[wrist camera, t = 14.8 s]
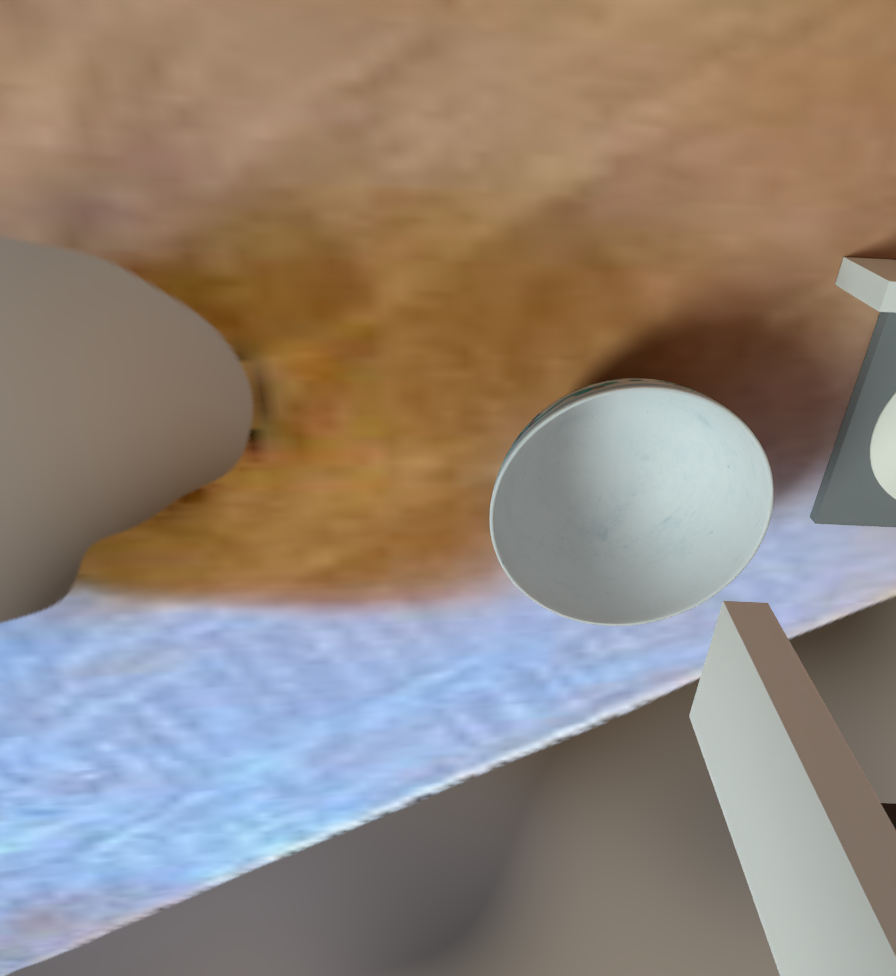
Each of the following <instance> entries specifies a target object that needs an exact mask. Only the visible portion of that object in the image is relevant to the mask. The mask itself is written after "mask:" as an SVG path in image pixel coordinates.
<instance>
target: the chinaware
mask: <svg viewBox="0 0 896 976" xmlns="http://www.w3.org/2000/svg"><path fill="white" fill-rule="evenodd" d="M773 501H774V486H773V477H772V472H771V468H770V464H769V461H768V458H767V456H766V453H765V451H764V449H763V447H762V446H761V444H760V442H759V440H758V439H757V437H756V436H755V435H754V433H753V432H752V431H751V430H750V428H749V427H748V426H747V425H746V424H745V423H744V422H743V421H742V420H741V419H740V418H739V417H738V416H737V415H735V414H734V413H733V412H732V411H730V410H729V409H728V408H726V407H725V406H723V405H722V404H720V403H719V402H717V401H715V400H713V399H712V398H710V397H708V396H706V395H704V394H702V393H700V392H697V391H695V390H693V389H690V388H688V387H685V386H682V385H678V384H675V383H671V382H666V381H661V380H655V379H645V378H624V379H614V380H608V381H603V382H599V383H595V384H592V385H588V386H586V387H583V388H580V389H578V390H575V391H573V392H571V393H569V394H567V395H565V396H563V397H562V398H560V399H558V400H557V401H555V402H554V403H552V404H551V405H549V406H548V407H547V408H545V409H544V410H543V411H542V412H540V413H539V414H538V415H537V416H536V417H535V418H534V419H533V420H532V421H531V422H530V423H529V424H528V425H527V426H526V427H525V429H524V430H523V431H522V432H521V433H520V435H519V436H518V437H517V439H516V440H515V442H514V443H513V445H512V446H511V448H510V450H509V451H508V453H507V455H506V457H505V459H504V461H503V463H502V466H501V468H500V470H499V473H498V476H497V479H496V482H495V485H494V489H493V493H492V498H491V504H490V532H491V538H492V542H493V546H494V550H495V552H496V555H497V557H498V560H499V562H500V564H501V566H502V567H503V569H504V571H505V572H506V574H507V575H508V577H509V578H510V579H511V581H512V582H513V583H514V584H515V585H516V586H517V587H518V588H519V589H520V590H521V591H522V592H523V593H524V594H525V595H526V596H527V597H529V598H530V599H531V600H533V601H534V602H535V603H537V604H538V605H540V606H542V607H543V608H545V609H547V610H549V611H551V612H553V613H555V614H558V615H560V616H563V617H565V618H568V619H572V620H575V621H579V622H583V623H589V624H595V625H606V626H627V625H637V624H644V623H650V622H654V621H658V620H662V619H666V618H669V617H672V616H675V615H678V614H680V613H683V612H685V611H687V610H689V609H691V608H694V607H696V606H697V605H699V604H701V603H703V602H705V601H706V600H708V599H709V598H711V597H713V596H714V595H715V594H717V593H718V592H720V591H721V590H722V589H723V588H725V587H726V586H727V585H728V584H729V583H730V582H732V581H733V580H734V579H735V578H736V577H737V576H738V575H739V574H740V573H741V571H742V570H743V569H744V568H745V567H746V566H747V564H748V563H749V562H750V560H751V559H752V558H753V556H754V555H755V553H756V551H757V550H758V548H759V546H760V544H761V542H762V540H763V538H764V536H765V534H766V531H767V528H768V526H769V522H770V519H771V514H772V509H773Z"/></svg>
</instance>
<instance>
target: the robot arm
mask: <svg viewBox="0 0 896 976" xmlns="http://www.w3.org/2000/svg"><path fill="white" fill-rule="evenodd" d="M689 716H690V720H691V722H692V725H693V728H694V731H695V734H696V737H697V740H698V742H699V745H700V748H701V751H702V754H703V757H704V760H705V762H706V765H707V768H708V771H709V774H710V777H711V780H712V782H713V785H714V788H715V791H716V794H717V796H718V800H719V802H720V805H721V808H722V811H723V814H724V817H725V819H726V822H727V825H728V828H729V831H730V834H731V837H732V840H733V842H734V845H735V848H736V851H737V854H738V857H739V860H740V862H741V865H742V868H743V871H744V874H745V877H746V879H747V882H748V885H749V888H750V891H751V894H752V897H753V900H754V902H755V905H756V908H757V911H758V914H759V917H760V920H761V922H762V925H763V928H764V931H765V934H766V937H767V940H768V942H769V945H770V948H771V951H772V954H773V957H774V959H775V962H776V965H777V968H778V971H779V974H780V976H896V804H886V803H880V801H879V799H878V798H877V796H876V794H875V792H874V791H873V789H872V787H871V785H870V784H869V782H868V780H867V778H866V776H865V775H864V773H863V771H862V769H861V768H860V766H859V764H858V762H857V761H856V759H855V757H854V755H853V753H852V752H851V750H850V748H849V746H848V744H847V743H846V741H845V739H844V737H843V736H842V734H841V732H840V730H839V729H838V727H837V725H836V723H835V721H834V720H833V718H832V716H831V714H830V713H829V711H828V709H827V707H826V706H825V704H824V702H823V700H822V698H821V697H820V695H819V693H818V691H817V690H816V688H815V686H814V684H813V682H812V681H811V679H810V677H809V675H808V674H807V672H806V670H805V668H804V667H803V665H802V663H801V661H800V660H799V658H798V656H797V654H796V652H795V651H794V649H793V647H792V645H791V643H790V642H789V640H788V638H787V636H786V635H785V633H784V631H783V629H782V627H781V626H780V624H779V622H778V620H777V619H776V617H775V615H774V613H773V612H772V610H771V608H770V606H769V604H768V603H756V602H734V601H723V603H722V607H721V610H720V614H719V617H718V620H717V624H716V627H715V630H714V634H713V637H712V641H711V644H710V647H709V651H708V654H707V658H706V661H705V664H704V668H703V671H702V675H701V678H700V681H699V685H698V688H697V691H696V695H695V698H694V702H693V705H692V708H691V712H690V715H689Z"/></svg>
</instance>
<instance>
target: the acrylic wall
mask: <svg viewBox="0 0 896 976" xmlns="http://www.w3.org/2000/svg"><path fill="white" fill-rule="evenodd" d="M835 285H836V286H838V287H840V288H841V289H843V290H845V291H846V292H848V293H850V294H851V295H853V296H854V297H856V298H858V299H859V300H861V301H863V302H864V303H866V304H867V305H869V306H871V307H872V308H874V309H876V310H877V311H879V312H894V313H896V260H891V259H872V258H853V257H843V261H842V264H841V267H840V270H839V274H838V277H837V280H836V283H835Z"/></svg>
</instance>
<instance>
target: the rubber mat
mask: <svg viewBox="0 0 896 976" xmlns="http://www.w3.org/2000/svg"><path fill="white" fill-rule="evenodd" d="M810 517H811V519H812V520H813V521H814V523H817V524H838V525H859V526H880V527H896V313H894V312H880V315H879V318H878V321H877V324H876V326H875V329H874V332H873V335H872V338H871V341H870V344H869V347H868V350H867V353H866V356H865V358H864V361H863V364H862V367H861V370H860V373H859V376H858V379H857V382H856V385H855V387H854V390H853V393H852V396H851V399H850V402H849V405H848V408H847V411H846V414H845V417H844V419H843V422H842V425H841V428H840V431H839V434H838V437H837V440H836V443H835V446H834V449H833V451H832V454H831V457H830V460H829V463H828V466H827V469H826V472H825V475H824V478H823V480H822V483H821V486H820V489H819V492H818V495H817V498H816V501H815V504H814V507H813V510H812V512H811V515H810Z"/></svg>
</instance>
